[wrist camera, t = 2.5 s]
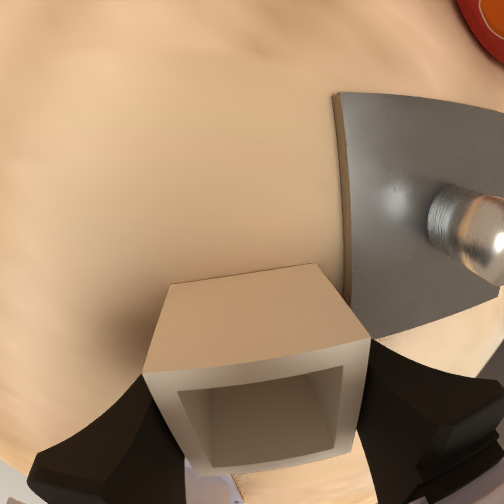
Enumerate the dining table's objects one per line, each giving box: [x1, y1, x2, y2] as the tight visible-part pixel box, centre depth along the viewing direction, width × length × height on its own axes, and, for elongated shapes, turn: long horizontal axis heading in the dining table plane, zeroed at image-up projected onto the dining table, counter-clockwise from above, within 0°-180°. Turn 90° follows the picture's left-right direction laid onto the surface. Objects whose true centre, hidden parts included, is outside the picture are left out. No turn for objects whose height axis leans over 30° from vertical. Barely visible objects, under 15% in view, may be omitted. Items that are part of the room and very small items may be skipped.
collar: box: [142, 263, 371, 477], centre depth 10 cm, size 6×6×5 cm
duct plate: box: [332, 92, 504, 340], centre depth 9 cm, size 10×10×4 cm
